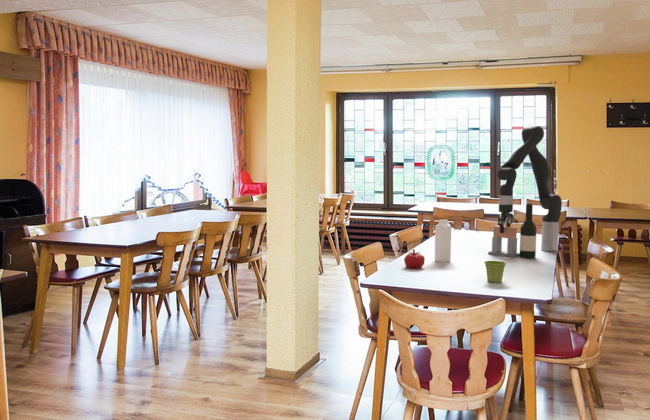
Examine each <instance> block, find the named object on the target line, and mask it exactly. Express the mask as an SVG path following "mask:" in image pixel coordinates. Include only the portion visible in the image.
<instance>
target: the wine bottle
mask: <svg viewBox="0 0 650 420" xmlns="http://www.w3.org/2000/svg"><path fill="white" fill-rule="evenodd" d="M533 206H534V205H533V203H531V202H527V203H526V204H525V220H524V221H523V223H522V225H521V226H520V233H519V234H520V239H519V253H520V256H519V258H520V259H524V260H525V259H526V260H533V259H534V260H535V259H536V253H537V251H536V249H537V226H536V225H535V224H536V223H534V221H533Z"/></svg>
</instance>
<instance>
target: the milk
mask: <svg viewBox="0 0 650 420" xmlns="http://www.w3.org/2000/svg"><path fill="white" fill-rule="evenodd" d="M434 228H435V229H434V262H435V261H436V262H439V263H446V262H451V259H452V257H451V256H452V255H451V254H452V252H451V251H452V250H451V249H452V248H451V247H452V225H451V224H450V223H449V219H448V218H447V219H439V220H438V223H436V224H435V227H434Z"/></svg>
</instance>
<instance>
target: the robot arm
mask: <svg viewBox="0 0 650 420" xmlns="http://www.w3.org/2000/svg"><path fill="white" fill-rule="evenodd" d="M544 137H545V130H544V129H543V127H541V126H539V125H534V126H525V127H523V129H522V131H521V139H522V141H523V144H522V145H521V146H519V148H517V149H516V150H515V151H514V152H513V153H512V154H511V156H510V157H509V159H508V160H507V161H505V163H503V164H502V165H501V166H500V167H499V168H498V170H497V172H496V173H497V174H496V176H497V179H498V180H500V181H506V182H505V183H504V184H502V185H500V186H499V197H498V212H499V213H501V214H498V215H497V216H498V217H497V226H500V233H504V226H505V227H511V226H512V225H513V213H512V212H513V210H514V196H513V195H514V194H513V193H514V186H515V183H516V180H517V171H516V170H517V169H519V168H520V167H521V165H522V164H523V162H524V160H525V159H526V158H527V156H528V158H529V161H530V164H531V169H532V172H533V176H534V180H535V182H536V183H535V184H536V187H537V192H538V199H539V205H540V206H541V207H542V209H545V210H548V211H547V214H546V215H543V216H542V222H541V223H542V224H541V226H542V227H541V247H540V248H541V249H540V250H541V251H544V252H558V251H559V227H560V226H559V225H560V219H561V215H562V207H563V206H562V203H563V202H562V198H561V196H560V195H559V194H555V193H554V194H553V193H551V192H550V188H549V181H550V177H551V169H550V168H551V167H550V165H549V162H548V160H547V159H546V157H545V156H544V155H543V154H542V153H541V151H539V149H538V147H537V146H538V144H540V143H541V141H543V138H544ZM505 224H506V225H505Z"/></svg>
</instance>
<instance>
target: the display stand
mask: <svg viewBox="0 0 650 420" xmlns="http://www.w3.org/2000/svg"><path fill="white" fill-rule="evenodd" d="M491 240H492V241H491V250H490V251H488V252H487V255H489V256H490V255H491V256H497V257H509V258H518V257H519V258H520V252H518V238H517V237H516V238H515V239H511V238H507V251H504V250H503V251H502V246H503V245H502V242H503V238H500V237H493V236H492V239H491Z"/></svg>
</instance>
